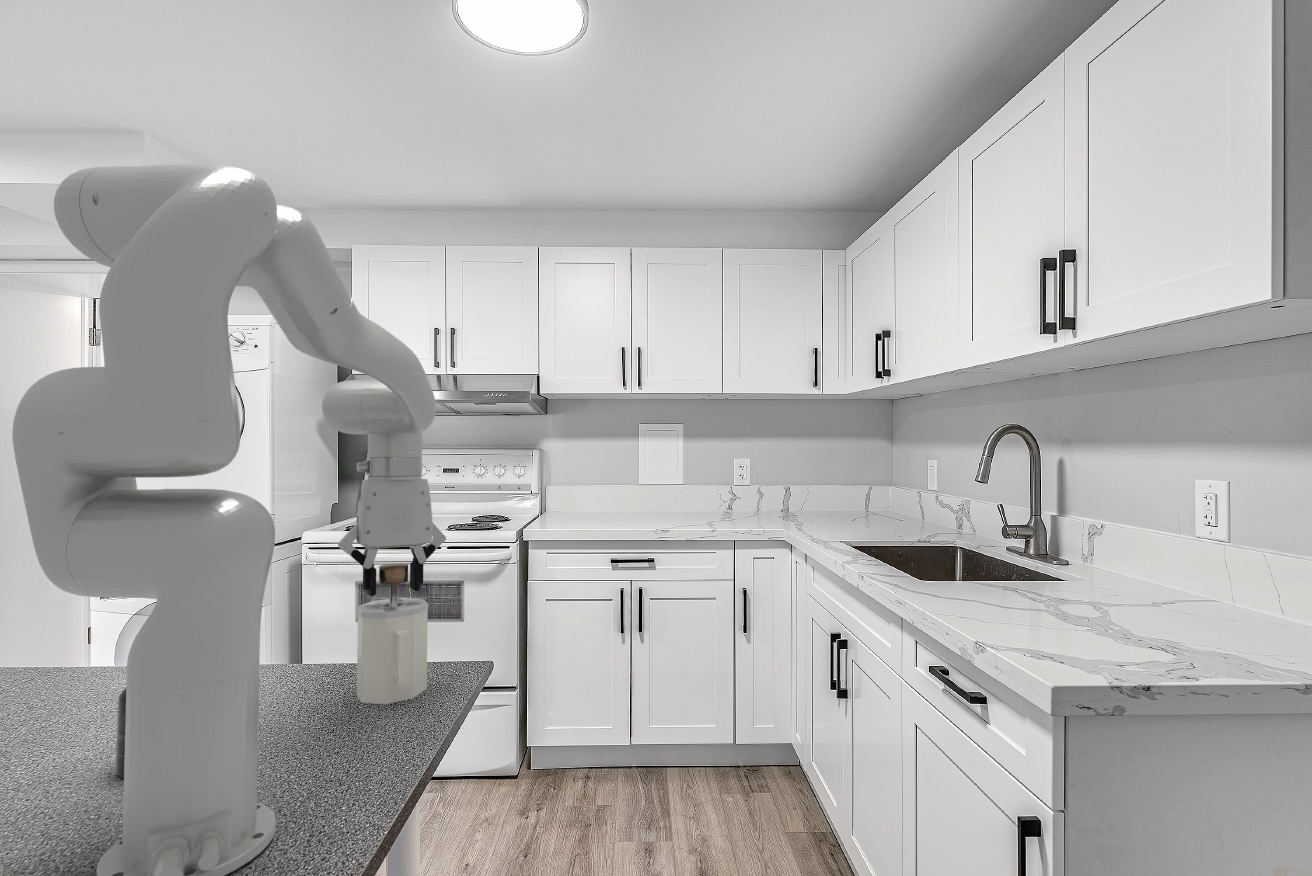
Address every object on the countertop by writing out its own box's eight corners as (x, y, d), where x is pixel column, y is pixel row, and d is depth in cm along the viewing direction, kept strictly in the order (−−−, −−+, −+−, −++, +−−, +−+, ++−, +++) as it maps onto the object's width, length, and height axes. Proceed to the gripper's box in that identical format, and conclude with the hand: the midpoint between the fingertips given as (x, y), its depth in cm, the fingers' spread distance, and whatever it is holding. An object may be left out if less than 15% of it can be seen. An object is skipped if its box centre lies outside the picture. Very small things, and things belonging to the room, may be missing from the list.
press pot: (437, 700, 91) (438, 609, 92) (367, 714, 86) (368, 618, 86) (416, 677, 101) (417, 595, 101) (352, 689, 95) (354, 603, 96)
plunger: (409, 685, 94) (411, 566, 94) (380, 690, 92) (382, 568, 92) (403, 677, 97) (404, 562, 98) (375, 682, 95) (376, 564, 95)
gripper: (335, 470, 87) (332, 604, 87) (460, 469, 97) (458, 589, 97) (327, 470, 94) (325, 594, 93) (445, 469, 103) (444, 581, 103)
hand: (393, 590), depth 95 cm, fingers open, 5 cm apart
